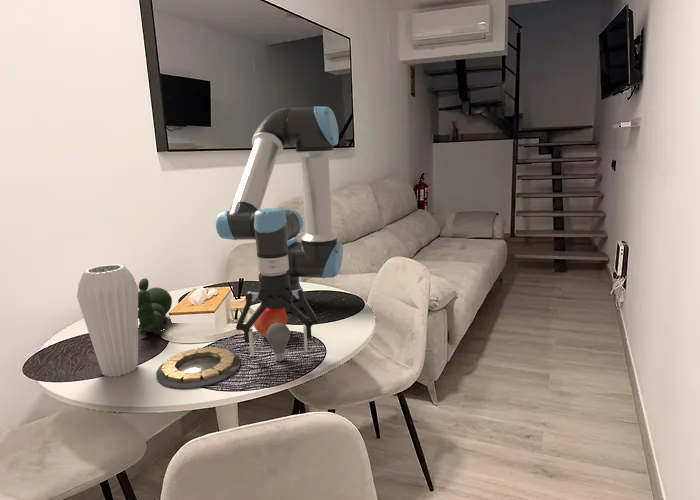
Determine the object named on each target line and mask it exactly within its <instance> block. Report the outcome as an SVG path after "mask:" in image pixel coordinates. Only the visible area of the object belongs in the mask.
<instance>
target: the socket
mask: <svg viewBox="0 0 700 500" xmlns="http://www.w3.org/2000/svg"><path fill="white" fill-rule="evenodd" d="M240 366H241V359H240V357H239V355H237V353H235V352H233V351H230V350H229V349H226V348H222V347H216V346H214V347H213V346H206V347H205V346H204V347H197V348H191V349H188V350H185V351H181V352H179V353H176V354H174V355H173V356H171V357H169V358H168V359H166V360H165V361H164V362H163V363H162V364H161V365H160V366H158V369H157V370H156V373H155V377H156V380H157V382H158V383H159V384H161V385H162V386H163V387H166V388H171V389H177V390H179V389H180V390H182V389H183V390H189V389H197V388H203V387H207V386H211V385H214V384H217V383H220V382H222V381H224V380H227V379H228V378H230V377H232V376H233V375H235V373H236V372H237V371H238V370H239V368H240Z"/></svg>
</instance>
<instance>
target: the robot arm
mask: <svg viewBox="0 0 700 500" xmlns="http://www.w3.org/2000/svg"><path fill="white" fill-rule="evenodd" d="M339 134H340V133H339V126H338V122H337V119H336V115H335V113H334V111H333V110H332V108H330V107H329V106H322V105H321V106H319V105H318V106H317V105H316V106H315V105H314V106H301V107H300V106H299V107H283V108H280V109H277V110H274V111H272V112H271V113H270V114H269V115H267V116H266V117H265V118H264V119H263V120H262V121H261V122H260V124H259V125H258V126H257V128H256V129H255V131H254V134H253V136H252V138H251V145H252V149H251V152H250V154H249V157H248V160H247V162H246V166H245V169H244V170H243V174H242V176H241V178H240V179H241V180H240V183H239V184H238V188H237V191H236V193H235V196H234V198H233V201H232V204H231V207H230V209H229V210H225V211H221V212H219V213H218V215H216V219H215V229H216V233H217V234H218V236H219V237H220V238H221V239H224V240H230V241H231V240H232V241H237V240H241V241H242V240H246V241H247V240H248V241H249V240H250V241H251V240H252V241H254V240H255V245H256V259H257V260H256V262H257V263H256V264H257V272H259V273H258V288H259V291H258V292H253V291H252V290H248V291H247V295H246V302H245V304H244V307H243V310H242V312H241V313H240V316H239V319H238V320H237V323H236V327H235V329H236V331H243V337H244V343H245V344H249V355H250V357H254V356H255V345H254V332H253V326H254V323H255V321H256V320H257V319H258V318H259V316H260V315H261V314H262V312H264V310H265V309H266V308H269V309H275V308H277V309H282V308H284V309H285V311H286V313H292V314H293V315H294V316H295V317H296V318H297V319H298V320H299V321H300V322H301V323H302V326H303V343H304V345H303V346H304V353H308V349H309V347H308V339H311V338H312V326H314V325H318V323H319V321H318V316H317V315H316V314H315V312H314V310H313V308H312V307H311V305H310V303H309V302H308V300H307V299H306V297H305V296H306V295H305V294H304V290H303V287H302V286H301V283H300V278H319V279H328V278H329V279H333V278H335V277H337V275H339V273H340V270H341V267H342V264H343V263H342V262H343V257H344V255H343V254H344V248H343V247H344V246H343V244H342V242H340V241H338V236H337V235H336V234H335V233H334V232H333V227H332V224H333V222H332V205H331V203H332V202H331V181H330V179H331V177H330V156H331V154H333V152H334V147H335V146H337V145H338V144H339V136H340V135H339ZM286 147H295V152H296V154H297V155H298V156H299V157H300V159H301V172H302V173H301V175H302V191H303V192H302V193H303V208H304V210H303V211H304V212H303V213H304V220H303V217H302V215H301V214H300V213H299V212H298V211H296V210H294V209H290V208H289V209H283V208H280V207H279V208H278V207H269V208H268V207H267V208H262V209H261V206H262V205H263V201H264V198H265V194H266V192H267V189H268V185H269V183H270V179H271V176H272V174H273V171H274V167H275V163H276V161H277V158H278V157H279V156H280V155H281V154H282V153H283V150H284V148H286ZM303 227H304V228H305V229H304V231H305V233H303V235H302V236H301V237H300V241H298V239H297V236H298V235H299V234H300V233H301V232H302V230H303ZM256 299H259V301H260V304H259V306H258V307H257V308H258V309H257V308H256V309H257V310H256V309H255V310H256V311H253V314H252V315H251V316H250V318H248V320H247V321H246V322H245V320H246V318H247V315H248V312H249V311H250V308H251V305H252V302H255V301H256ZM300 309H304V310H305V312H306V314H307V315H308V317H309V318H308V317H307V316H306V315H305V314H304V313H303V312H302V311H301V310H300ZM244 322H245V323H244Z"/></svg>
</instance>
